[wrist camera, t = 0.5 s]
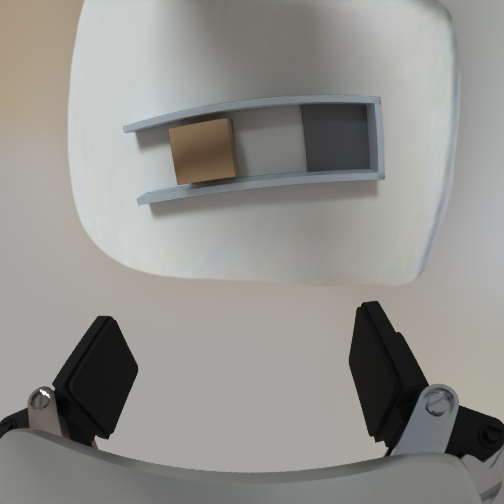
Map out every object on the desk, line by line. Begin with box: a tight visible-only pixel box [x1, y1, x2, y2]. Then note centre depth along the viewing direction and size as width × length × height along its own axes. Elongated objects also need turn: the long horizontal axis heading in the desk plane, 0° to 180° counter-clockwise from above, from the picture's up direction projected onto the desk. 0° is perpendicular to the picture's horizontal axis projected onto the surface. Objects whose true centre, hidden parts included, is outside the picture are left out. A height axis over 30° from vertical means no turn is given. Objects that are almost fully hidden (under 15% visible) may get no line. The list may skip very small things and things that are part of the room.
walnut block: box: [168, 118, 239, 185], centre depth 28 cm, size 6×6×5 cm
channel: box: [123, 95, 385, 205], centre depth 28 cm, size 10×29×3 cm, turn 97°
